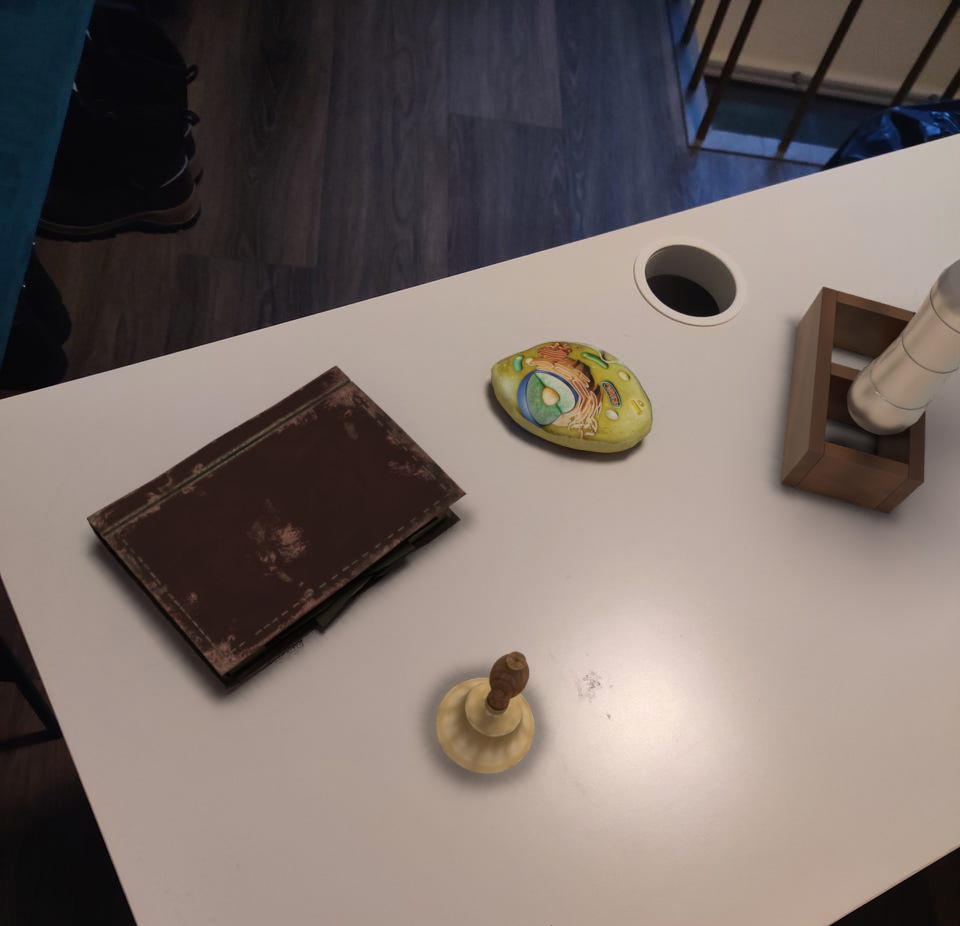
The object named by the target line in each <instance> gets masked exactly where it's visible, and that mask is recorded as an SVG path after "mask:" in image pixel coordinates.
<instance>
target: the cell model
mask: <svg viewBox="0 0 960 926" xmlns="http://www.w3.org/2000/svg"><path fill="white" fill-rule="evenodd" d="M490 373H491V374H490V381H491V385H492V388H493V392H494V395H495V397H496V400H497V401H498V403H499V404H500V405H501V407H502V408H503V409H504V410H505V412H506V413H507V414H508V415H509V416H510V418H511V419H512V420H513V421H514V422H515V423H516V424H517V425H518V426H519V427H520V428H522V429H524V430H525V431H526V432H529V433H531V434H533V435H535V436H537V437H539V438H541V439H543V440H545V441H548V442H551V443H553V444H557V445H558V446H562V447H567V448H570V449H575V450H578V451H579V450H580V451H586V452H596V453H604V454H605V453H606V454H607V453H609V454H610V453H618V452H622V451H626V450H628V449H631V448H633V447H634V446H636V445H637V444H638V443H640V442H641V441H642V440H644V439H645V438H646V437H647V436H648V435H649V434H650V433H651V431H652V428H653V421H654V420H653V419H654V418H653V407H652V403H651V400H650V398H649V396H648V394H647V393H646V390H645V389H644V387H643V386H642V384H641V382H640V380H639V379H638V377H637V376H636V375H635V373H634V372H633V371H632V370H631V369H630V368H629V367H628V366H627V365H626V363H624V362H622V361H621V360H620V359H619V358H618V357H616V356H614V355H612V354H611V353H609V352H608V351H606V350H605V349H602V348H600V347H597V346H595V345H592V344H589V343H586V342H585V343H584V342H578V341H577V342H576V341H566V340H552V341H546V342H542V343H539V344H537V345H534V346H532V347H530V348H528V349H525V350H522V351H518V352H515V353H513V354H511V355H509V356H507V357H505V358H501V359H500V360H498V361H497V362H495V363H494V364H493V365H492V367H491V370H490Z"/></svg>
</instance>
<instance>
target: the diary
mask: <svg viewBox="0 0 960 926" xmlns="http://www.w3.org/2000/svg"><path fill="white" fill-rule="evenodd" d="M466 495H467V492H466V491H465V490H464V489H463V488H462V487H460V485H459V484H457V483H456V482H455V481H454V480H453V479H452V477H451V476H450V475H449V474H448V473H446V471H445V470H444V469H443V468H442V467H441V466H440V465H439V464H438V463H437V462H436V461H435V460H434V459H433V458H432V457H431V456H430V455H429V454H428V453H427V452H426V451H425V450H424V449H423V448H422V447H421V446H420V445H419V444H418V443H417V442H416V441H415V440H414V439H413V438H412V437H411V436H410V434H408V433H407V432H406V431H405V430H404V429H403V427H402V426H400V425H399V424H398V423H397V421H395V420H394V418H392V417H391V416H390V415H389V414H387V412H386V411H384V410H383V409H382V408H381V407H380V406H379V405H378V403H376V402H375V400H373V399H372V398H371V397H370V396H369V395H368V394H367V393H365V391H363V390H362V389H361V388H360V387H359V386H358V385H357V383H355V382H354V381H352V380H351V378H350V377H349V376H348V375H347V374H346V373H345V372H344V371H343V370H342V369H341V368H340V367H339V366H338V365H334V366H332V367H331V368H329V369H328V370H325V371H324V372H323V373H321V374H320V375H318V376H317V377H315V378H314V379H312V380H310V381H308V382H307V383H306V384H303V386H301V387H300V388H298V389H297V390H295V391H293V392H292V393H290V394H289V395H287V396H285V397H284V398H282V399H281V400H280V401H278V402H276V403H275V404H273V405H271V406H270V407H268V408H266V409H265V410H263V411H261V412H259V413H257V414H256V415H254V416H253V417H251V418H249V419H247V420H245V421H244V422H242V423H241V424H239V425H237V426H236V427H234V428H232V429H230V430H228V431H227V432H224V434H222V435H220V436H218V437H217V438H214V439H213V440H212V441H210V442H209V443H207V444H205V445H204V446H203V447H201V448H200V449H198V450H197V451H195V452H193V453H191V454H190V455H189V456H186V457H185V458H183V460H181V461H179V462H178V463H176V464H175V465H173V466H172V467H170V468H168V469H167V470H165V471H164V472H163V473H161V474H159V475H158V476H156V477H154V478H153V479H151V480H149V481H148V482H146V483H144V484H142V485H141V486H139V487H136V488H135V489H134V490H132V491H130V492H129V493H127V494H125V495H123V496H121V497H120V498H118V499H116V500H114V501H113V502H111V503H109V504H107V505H105V506H104V507H102V508H100V509H99V510H97V511H96V512H94V513H92V514H91V515H89V516H87V517H86V520H87V522H88V524H89V526H90V528H91V530H92V531H93V533H94V535H95V536H96V537H97V540H98V541H99V542H100V544H101V545H102V546H103V548H104V549H105V550H106V551H107V552H108V553H109V555H110V556H111V557H112V558H113V559H114V560H115V561H116V563H117V564H118V565H119V566H120V567H121V569H122V570H123V571H124V572H125V573H126V574H127V575H128V577H129V578H130V579H131V581H133V583H134V584H135V585H136V586H137V587H138V589H139V590H140V591H141V592H142V593H143V594H144V595H145V597H146V598H147V599H148V600H149V602H150V603H152V605H153V606H154V607H155V609H156V610H157V611H158V612H159V613H160V614H161V615H162V617H163V618H164V619H165V620H166V621H167V622H168V623H169V625H170V626H171V627H172V628H173V629H174V630H175V632H176V633H177V634H178V635H179V636H180V637H181V639H182V640H183V641H184V642H185V644H186V645H187V646H188V647H189V648H190V650H192V652H193V653H194V654H195V656H197V657H198V659H199V660H200V661H201V662H202V663H203V664H204V665H205V666H206V668H207V669H208V670H209V671H210V672H211V673H212V675H213V676H214V677H215V678H216V679H217V681H218V682H219V683H220V685H222V686H223V687H224V688H225V690H227V691H230V690H231V689H233V688H235V687H237V686H238V685H240V684H241V683H243V682H244V681H246V680H247V679H248V678H250V677H251V676H253V675H254V674H256V673H257V672H258V671H259V670H261V669H262V668H264V667H265V666H266V665H268V664H270V663H271V662H273V660H275V659H276V658H278V657H279V656H280V655H282V654H283V653H285V652H286V651H287V650H288V649H290V648H291V647H293V646H294V645H296V644H297V643H298V642H299V641H301V640H302V639H304V638H305V637H306V636H307V635H308V634H310V633H311V632H313V631H314V630H315V629H317V627H319V626H321V627H322V628H325V627H326V625H327V624H328V623H329V622H330V621H331V620H332V619H333V618H334V617H335V615H336V614H337V613H338V612H339V611H340V610H341V609H342V608H344V607H345V606H346V605H348V604H349V603H350V602H352V601H353V600H355V599H356V598H358V597H359V596H360V595H362V594H363V593H365V592H366V591H368V590H369V589H370V588H372V587H373V586H375V585H376V584H377V583H378V582H380V581H381V580H382V579H383V578H385V577H386V576H387V575H388V574H389V572H386V573H384V574H381V573H383V572H385V571H386V570H387V569H388V568H390V567H391V566H392V565H394V564H395V563H396V562H398V561H399V560H400V559H403V558H404V557H406V556H407V555H409V554H411V553H413V552H416V551H417V550H419V549H421V548H423V547H424V546H426V545H428V544H430V543H431V542H433V541H434V540H435V539H437V538H438V537H440V536H441V535H443V534H444V533H445V532H447V531H448V530H449V529H451V528H452V527H454V526H455V525H456V524H458V523H459V522H460V521H461V520H462V519H461V518H460V517H459V516H458V515H457V514H456V513H455V512H454V511H453V509H451V508H450V507H451V506H452V505H453V504H455V503H456V502H458V501H459V500H461V499H462V498H463V497H465V496H466Z"/></svg>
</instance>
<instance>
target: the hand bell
mask: <svg viewBox="0 0 960 926" xmlns="http://www.w3.org/2000/svg"><path fill="white" fill-rule="evenodd" d="M529 679H530V667H529V664H528V662H527V658H526V656H525V654H524V653H522V652H520V651H516V650H514V651H511V652H510V653H507V654H504V655H502V656H500V657H498V659H496V660H495V662H494V663H493V665H492V667H491V670H490V673H489V677H476V678H470V679H467V680H464V681H461V682H460V683H458V684H456V685H455V686H453V687H452V688H451V689H450V690H449V691H448V692H447V693H446V694H445V695H444V696H443V698H442V700H441V701H440V703H439V706H438V707H437V711H436V716H435V732H436V737H437V740H438V742H439V745H440V747H441V749H442V750H443V752H444V753H445V754H446V756H447V757H448V758H449V759H450V760H451V761H453V762H454V764H456V765H458V766H459V767H461V768H463V769H465V770H467V771H470V772H472V773H476V774H496V773H501V772H503V771H507V770H509V769H510V768H513V767H514V766H516V765H517V764H518V763H519V762H520V761H521V760H523V759H524V757H525V756H526V755H527V753H528V751H529V750H530V748H531V746H532V742H533V740H534V737H535V718H534V714H533V712H532V709H531V707H530V705H529V703H528V701H527V699H525V697H524V696H523V694H521V693H522V692H523V691H524V689H526V687H527V684H528V682H529Z"/></svg>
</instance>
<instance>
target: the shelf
mask: <svg viewBox="0 0 960 926" xmlns="http://www.w3.org/2000/svg"><path fill="white" fill-rule="evenodd" d="M916 313H917V311H912V310H909V309H906V308H902V307H898V306H894V305H892V304H891V305H890V304H887V303H884V302H880V301H876V300H872V299H869V298H865V297H862V296H858V295H855V294H852V293H849V292H844V291H841V290H837V289H835V288H830V287H827V286H822V287H821V289H820V291H819V292H818V294H817V295H816V296H815V298H814V300H813V301H812V302H811V304H810V305H809V307H808V309H807V311H806V312H805V313H804V315H803V317H802V318H801V320H800V321H799V322H798V324H797V326H796V332H795V333H796V334H795V343H794V351H793V352H794V353H793V361H792V370H791V379H790V380H791V382H790V389H789V399H788V410H787V417H786V418H787V419H786V428H785V429H786V430H785V438H784V447H783V456H782V457H783V458H782V465H781V466H782V467H781V477H780V484H781V485H783V486H788V487H791V488H795V489H798V490H802V491H805V492H810V493H813V494H817V495H821V496H824V497H828V498H832V499H835V500H838V501H842V502H847V503H850V504H854V505H857V506H861V507H864V508H868V509H871V510H876V511H879V512H882V513H886V514H891V513H892V512H893V511H894V510H895V509H896V508H897V507H898V506H900V504H902V503H903V502H904V501H905V500H906V499H907V498H908V497H910V496H911V495H912V494H913V493H914V492H915V491H916V490H917V489H919V488H920V487H921V486H922V485H923V484H924V483H925V463H926V461H925V460H926V459H925V458H926V457H925V456H926V420H927V419H926V417H927V411H926V410H927V409H926V410H925V411H924V412H923V414H922V415H921V417H920V418H919V419H918V421H917V422H915V423H914V424H913V425H911V426H910V427H908V428H907V429H905V430H904V431H902V432H900V433H898V434H892V435H878V434H877V435H878V436H877V437H878V439H877V453H876V455H875V454H871V453H868V452H865V451H861V450H857V449H853V448H849V447H846V446H843V445H839V444H835V443H832V442H828V441H826V435H827V434H826V432H827V421H828V419H832V420H834V421H835V420H836V421H839V422H842V423H846V424H850V425H853V426H856V427H859V428H862V427H861V426H859V425H858V424H857V423H856V422H855V421H854V419H853V418H852V416H851V415H850V413H849V410H848V404H847V394H848V390H849V388H850V386H851V384H852V382H853V380H854V379H855V377H856V376H857V374H858V373H859V372H860V371H861V370H862V369H857V368H854V367H850V366H846V365H843V364H839V363H835V362H832V358H833V348H836V349H839V350H843V351H847V352H851V353H854V354H858V355H861V356H864V357H869V358H872V359H874V360H875V359H876V358H878V357H879V356H880V355H881V354H882V353H883V352H884V351H885V350H886V349H887V348H888V347H889V346H890V345H891V344H892V343H893V342H894V341H895V340H896V339H897V338H898V337H899V335H900V334H901V333H902V331H903V330H904V329H905V328H906V326H907V325H908V323H909V322H910V321H911V319H912V318H913V317H914V315H915V314H916Z"/></svg>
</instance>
